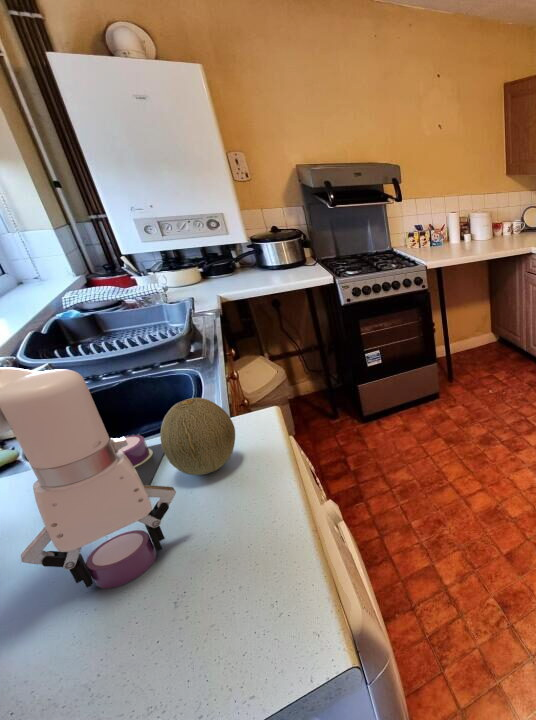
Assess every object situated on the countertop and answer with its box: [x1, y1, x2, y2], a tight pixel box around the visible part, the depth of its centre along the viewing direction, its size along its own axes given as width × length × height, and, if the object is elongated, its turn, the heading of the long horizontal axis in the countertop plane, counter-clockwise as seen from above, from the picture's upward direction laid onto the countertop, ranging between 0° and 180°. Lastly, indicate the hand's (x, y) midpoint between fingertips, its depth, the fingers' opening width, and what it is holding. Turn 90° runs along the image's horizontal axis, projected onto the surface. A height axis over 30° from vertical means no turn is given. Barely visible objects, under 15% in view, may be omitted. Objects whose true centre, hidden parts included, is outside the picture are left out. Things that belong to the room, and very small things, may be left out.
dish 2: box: [85, 529, 157, 589], centre depth 63 cm, size 7×7×4 cm
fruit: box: [160, 397, 236, 476], centre depth 82 cm, size 11×11×15 cm
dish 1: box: [118, 434, 150, 466], centre depth 86 cm, size 7×7×4 cm
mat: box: [134, 443, 165, 485], centre depth 83 cm, size 12×17×1 cm
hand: (124, 561), depth 63 cm, fingers open, 7 cm apart
